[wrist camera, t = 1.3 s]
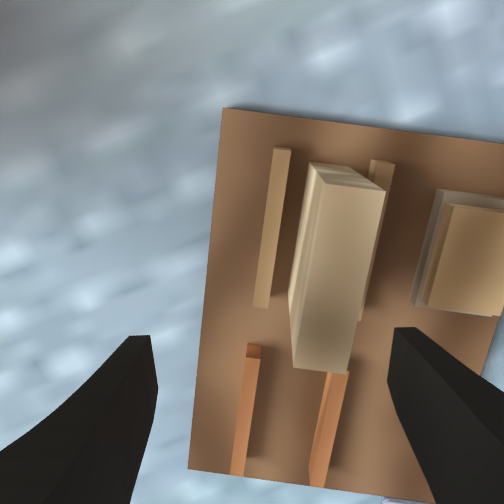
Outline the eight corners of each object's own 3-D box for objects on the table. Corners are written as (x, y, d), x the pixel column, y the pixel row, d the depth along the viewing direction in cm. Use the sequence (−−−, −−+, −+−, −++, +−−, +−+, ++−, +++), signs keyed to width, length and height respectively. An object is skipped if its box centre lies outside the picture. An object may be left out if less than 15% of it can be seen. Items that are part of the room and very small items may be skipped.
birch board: (348, 166, 21) (385, 191, 14) (324, 296, 23) (345, 374, 16) (308, 161, 21) (325, 183, 14) (287, 291, 23) (293, 367, 16)
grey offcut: (517, 199, 21) (528, 202, 20) (482, 308, 23) (491, 316, 22) (436, 188, 21) (444, 191, 20) (408, 298, 23) (414, 306, 22)
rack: (539, 148, 22) (575, 153, 19) (431, 488, 28) (446, 525, 26) (225, 108, 22) (219, 106, 19) (191, 454, 29) (182, 488, 26)
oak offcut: (521, 212, 20) (533, 217, 20) (490, 307, 22) (500, 316, 21) (445, 202, 21) (454, 206, 20) (420, 298, 22) (427, 306, 21)
